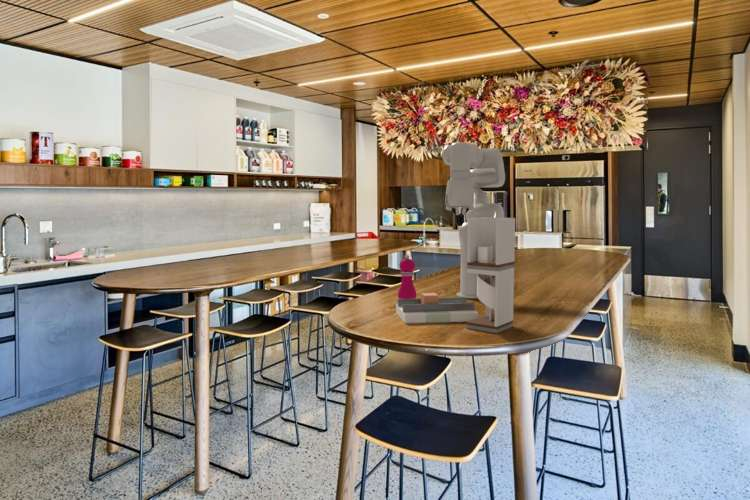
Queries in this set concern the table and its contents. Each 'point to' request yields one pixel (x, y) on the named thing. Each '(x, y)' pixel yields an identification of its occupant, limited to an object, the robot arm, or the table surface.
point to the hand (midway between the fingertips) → (459, 225)
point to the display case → (492, 270)
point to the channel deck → (436, 316)
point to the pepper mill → (407, 279)
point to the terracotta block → (429, 298)
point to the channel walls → (436, 305)
